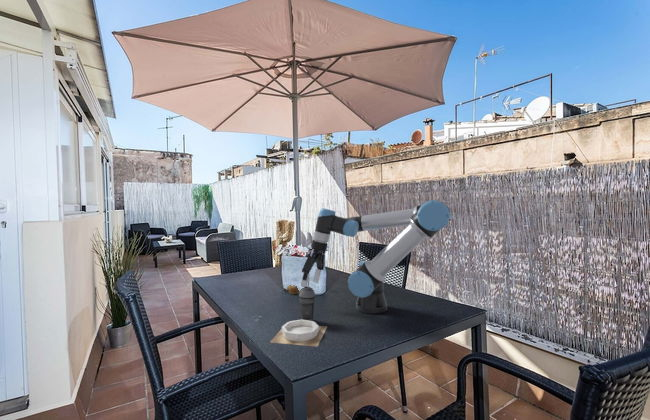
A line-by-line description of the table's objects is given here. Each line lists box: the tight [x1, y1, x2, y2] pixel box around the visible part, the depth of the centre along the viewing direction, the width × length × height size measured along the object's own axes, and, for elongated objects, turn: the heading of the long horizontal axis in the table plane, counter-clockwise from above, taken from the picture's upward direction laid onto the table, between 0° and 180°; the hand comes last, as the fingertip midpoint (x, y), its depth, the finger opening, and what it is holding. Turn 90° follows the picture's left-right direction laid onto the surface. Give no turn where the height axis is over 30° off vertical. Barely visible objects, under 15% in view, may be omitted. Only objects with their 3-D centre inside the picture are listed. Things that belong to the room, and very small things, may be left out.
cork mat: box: [269, 325, 328, 348], centre depth 121 cm, size 18×18×1 cm
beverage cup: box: [298, 276, 316, 321], centre depth 134 cm, size 7×7×20 cm
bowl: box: [281, 319, 320, 342], centre depth 121 cm, size 14×14×3 cm
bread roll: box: [285, 285, 300, 295], centre depth 180 cm, size 10×10×8 cm
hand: (309, 284), depth 146 cm, fingers open, 13 cm apart
